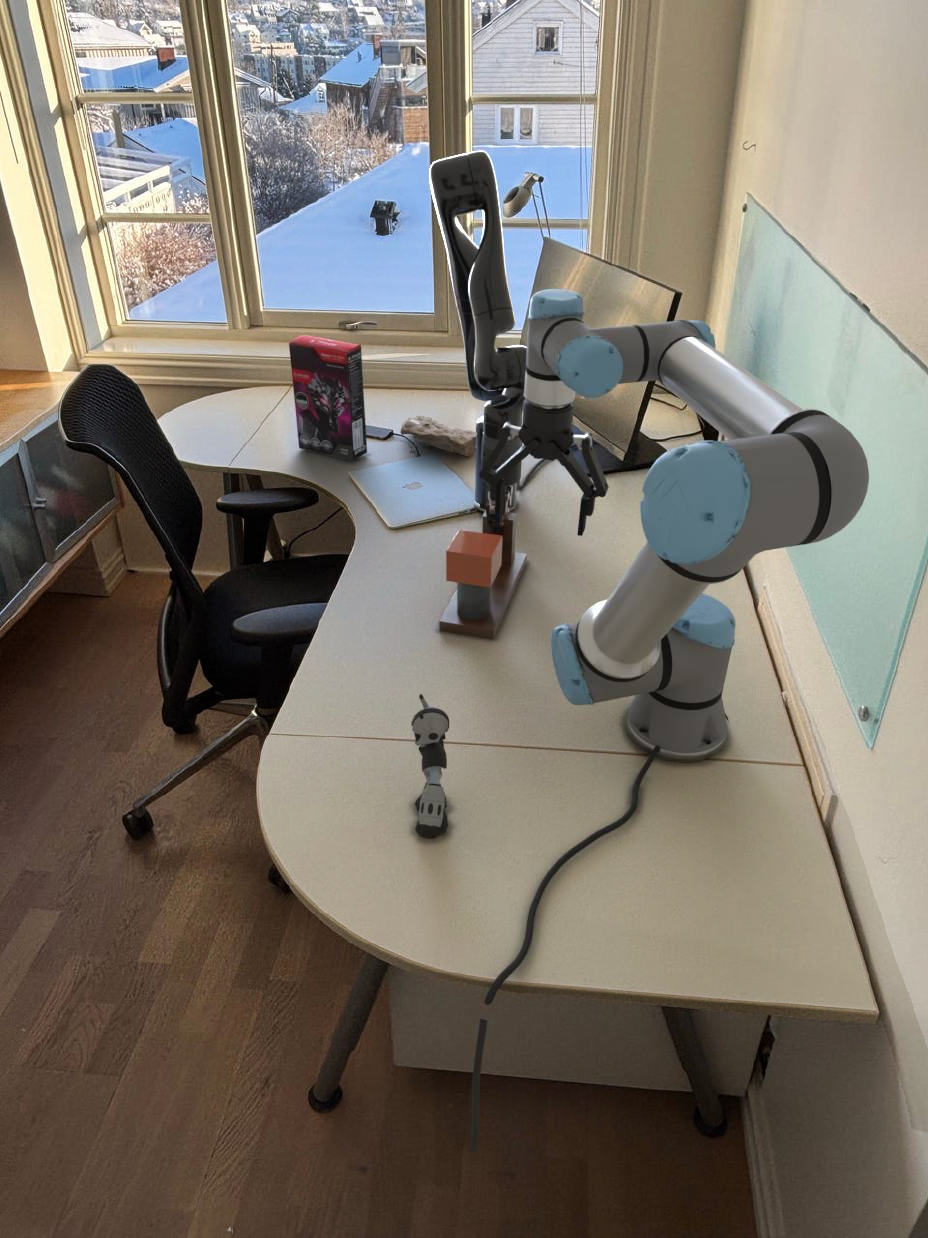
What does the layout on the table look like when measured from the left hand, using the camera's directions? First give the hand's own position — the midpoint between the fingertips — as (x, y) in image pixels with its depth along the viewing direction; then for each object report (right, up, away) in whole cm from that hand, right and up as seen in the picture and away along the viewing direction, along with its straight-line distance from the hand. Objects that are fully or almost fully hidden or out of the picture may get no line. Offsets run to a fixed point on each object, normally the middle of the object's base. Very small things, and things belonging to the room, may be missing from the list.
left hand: (498, 537), depth 180 cm
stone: (-13, +28, +54) cm, 63 cm away
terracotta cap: (-5, -8, -17) cm, 19 cm away
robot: (-11, -43, -52) cm, 69 cm away
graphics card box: (-40, +26, +51) cm, 69 cm away
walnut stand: (-3, -11, -4) cm, 12 cm away
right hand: (+5, -1, -31) cm, 31 cm away
